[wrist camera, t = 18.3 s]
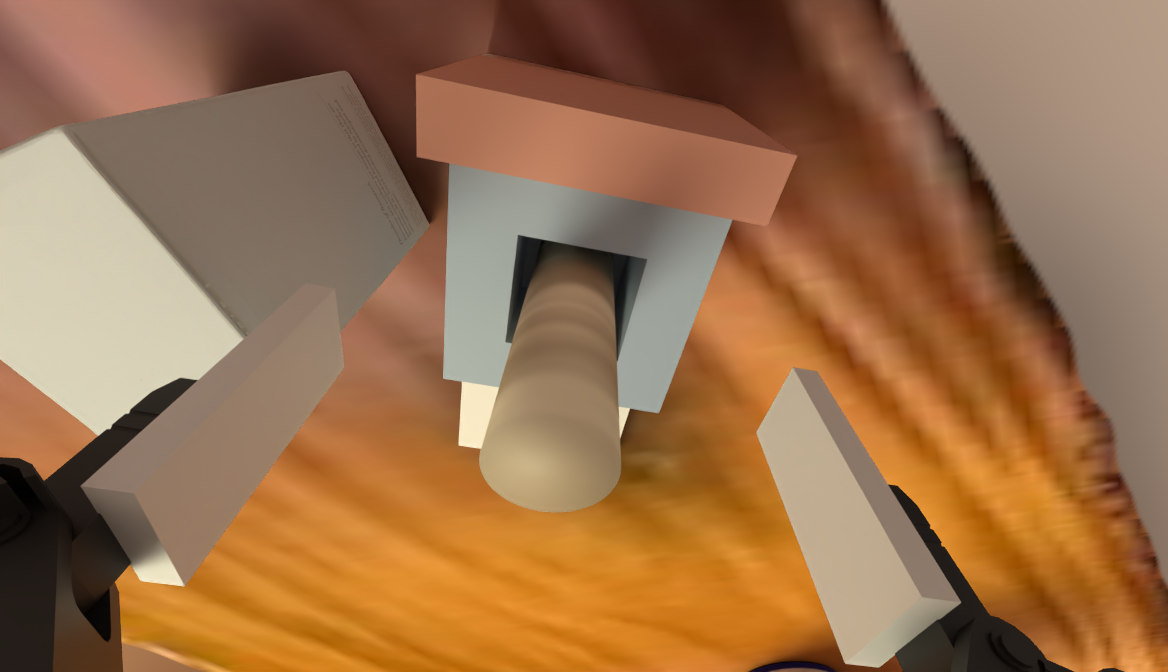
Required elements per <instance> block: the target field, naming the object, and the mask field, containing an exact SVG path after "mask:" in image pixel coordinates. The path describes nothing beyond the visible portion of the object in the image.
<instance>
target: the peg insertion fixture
mask: <svg viewBox="0 0 1168 672" xmlns="http://www.w3.org/2000/svg"><path fill="white" fill-rule="evenodd" d="M416 140H417V157H420V158H425V159H430V160H435V161H440V162H445V163H450V164H455V165H460V166H465V167H470V168H475V169H480V170H485V171H490V172H495V173H500V174H505V175H510V176H515V177H520V178H525V179H530V180H535V181H540V182H545V183H550V184H556V185H561V186H566V187H571V188H576V189H581V190H586V191H591V192H596V193H601V194H606V195H611V196H616V197H621V198H626V199H631V200H636V201H641V202H646V203H651V204H656V205H661V206H666V207H671V208H676V209H681V210H686V211H691V212H696V213H701V214H706V215H711V216H716V217H722V218H727V219H732V220H737V221H742V222H747V223H752V224H757V225H762V226H767V225H768V223H769V221H770V218H771V216H772V214H773V211H774V209H775V207H776V204H777V202H778V200H779V197H780V195H781V193H782V190H783V188H784V186H785V183H786V181H787V179H788V176H789V174H790V172H791V169H792V167H793V165H794V162H795V160H796V158H797V155H796V154H794V153H793V152H791V151H790V150H788V149H787V148H785V147H784V146H783V145H781V144H780V143H778V142H777V141H775V140H774V139H772V138H771V137H769V136H768V135H766V134H765V133H763V132H762V131H760V130H759V129H758V128H756V127H755V126H753V125H752V124H750V123H749V122H747V121H746V120H744V119H743V118H741V117H740V116H738V115H737V114H735V113H734V112H733V111H731V110H730V109H728V108H727V107H725V106H724V105H721V104H717V103H712V102H708V101H703V100H698V99H694V98H689V97H685V96H680V95H676V94H671V93H667V92H662V91H657V90H653V89H648V88H644V87H639V86H635V85H630V84H626V83H621V82H617V81H612V80H607V79H603V78H598V77H594V76H589V75H585V74H580V73H576V72H571V71H567V70H562V69H557V68H553V67H548V66H544V65H539V64H535V63H530V62H526V61H521V60H516V59H512V58H507V57H503V56H498V55H494V54H489V53H486V54H482V55H479V56H476V57H472V58H469V59H466V60H462V61H459V62H455V63H452V64H449V65H445V66H442V67H438V68H435V69H432V70H428V71H425V72H422V73H418V74H416ZM498 389H499V387H493V386H487V385H481V384H474V383H468V382H462V395H461V412H460V429H459V445H460V446H466V447H473V448H480V449H481V448H482V444H483V441H484V437H485V434H486V430H487V427H488V424H489V420H490V417H491V413H492V410H493V406H494V403H495V399H496V396H497V393H498ZM629 410H630V408H624V407H619V428H620V437H621V434H622V431H623V428H624V425H625V422H626V419H627V416H628V413H629Z"/></svg>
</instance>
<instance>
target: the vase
mask: <svg viewBox="0 0 1168 672" xmlns="http://www.w3.org/2000/svg"><path fill="white" fill-rule="evenodd" d="M751 672H836V671H835V670H833V669H831V668H829V667H827V666H824V665H820V664H815V663H807V662H786V663H778V664H772V665H768V666H764V667H760V668H758V669H755V670H753V671H751Z"/></svg>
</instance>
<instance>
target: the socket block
mask: <svg viewBox="0 0 1168 672" xmlns="http://www.w3.org/2000/svg"><path fill="white" fill-rule="evenodd" d="M731 222H732V219H727V218H722V217H716V216H711V215H706V214H701V213H696V212H691V211H686V210H681V209H676V208H671V207H666V206H661V205H656V204H651V203H646V202H641V201H636V200H631V199H626V198H621V197H616V196H611V195H606V194H601V193H596V192H591V191H586V190H581V189H576V188H571V187H566V186H561V185H556V184H550V183H545V182H540V181H535V180H530V179H525V178H520V177H515V176H510V175H505V174H500V173H495V172H490V171H485V170H480V169H475V168H470V167H465V166H460V165H455V164H450V163H449V193H448V228H447V263H446V299H445V334H444V370H443V379H449V380H456V381H462V382H468V383H474V384H481V385H487V386H493V387H499V386H500V382H501V379H502V375H503V372H504V369H505V365H506V362H507V358H508V355H509V351H510V348H511V344H512V341H513V338H514V334H515V331H516V327H517V324H518V320H519V317H520V314H521V310H522V307H523V303H524V300H525V296H526V293H527V290H528V286H529V283H530V279H531V276H532V272H533V269H534V265H535V262H536V259H537V255H538V252H539V248H540V245H541V242H542V239H543V240H548V241H553V242H558V243H564V244H569V245H574V246H580V247H585V248H590V249H596V250H601V251H606V252H612V255H613V280H614V305H615V329H616V354H617V379H618V404H619V407H624V408H630V409H636V410H643V411H649V412H655V413H659V411H660V409H661V406H662V403H663V401H664V398H665V396H666V393H667V390H668V388H669V385H670V382H671V380H672V377H673V375H674V372H675V369H676V367H677V364H678V361H679V359H680V356H681V354H682V351H683V348H684V346H685V343H686V340H687V338H688V335H689V333H690V330H691V327H692V325H693V322H694V319H695V317H696V314H697V312H698V309H699V306H700V304H701V301H702V298H703V296H704V293H705V291H706V288H707V285H708V283H709V280H710V277H711V275H712V272H713V270H714V267H715V264H716V262H717V259H718V256H719V254H720V251H721V249H722V246H723V243H724V241H725V238H726V236H727V233H728V230H729V228H730V225H731Z"/></svg>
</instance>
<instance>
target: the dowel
mask: <svg viewBox="0 0 1168 672" xmlns="http://www.w3.org/2000/svg"><path fill="white" fill-rule="evenodd" d="M479 463H480V469H481V472H482V474H483V476H484V478H485V480H486V482H487V483H488V484H489V485H490V487H491V488H492V489H493V490H494V491H495V492H496V493H498V494H499V495H500V496H502V497H503V498H505V499H506V500H508V501H510V502H512V503H514V504H516V505H519V506H521V507H524V508H528V509H531V510H536V511H542V512H569V511H575V510H579V509H583V508H586V507H589V506H591V505H593V504H595V503H597V502H599V501H601V500H602V499H604V498H605V497H606V496H607V495H608V494H609V493H610V492H611V491H612V490H613V489H614V487H615V486H616V484H617V482H618V480H619V477H620V473H621V453H620V428H619V404H618V379H617V354H616V329H615V305H614V280H613V255H612V252H606V251H601V250H596V249H590V248H585V247H580V246H574V245H569V244H564V243H558V242H553V241H548V240H543V239H542V242H541V245H540V248H539V252H538V255H537V259H536V262H535V265H534V269H533V272H532V276H531V279H530V283H529V286H528V290H527V293H526V296H525V300H524V303H523V307H522V310H521V314H520V317H519V320H518V324H517V327H516V331H515V334H514V338H513V341H512V344H511V348H510V351H509V355H508V358H507V362H506V365H505V369H504V372H503V375H502V379H501V382H500V386H499V389H498V393H497V396H496V399H495V403H494V406H493V410H492V413H491V417H490V420H489V424H488V427H487V430H486V434H485V437H484V441H483V444H482V448H481V451H480V457H479Z"/></svg>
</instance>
